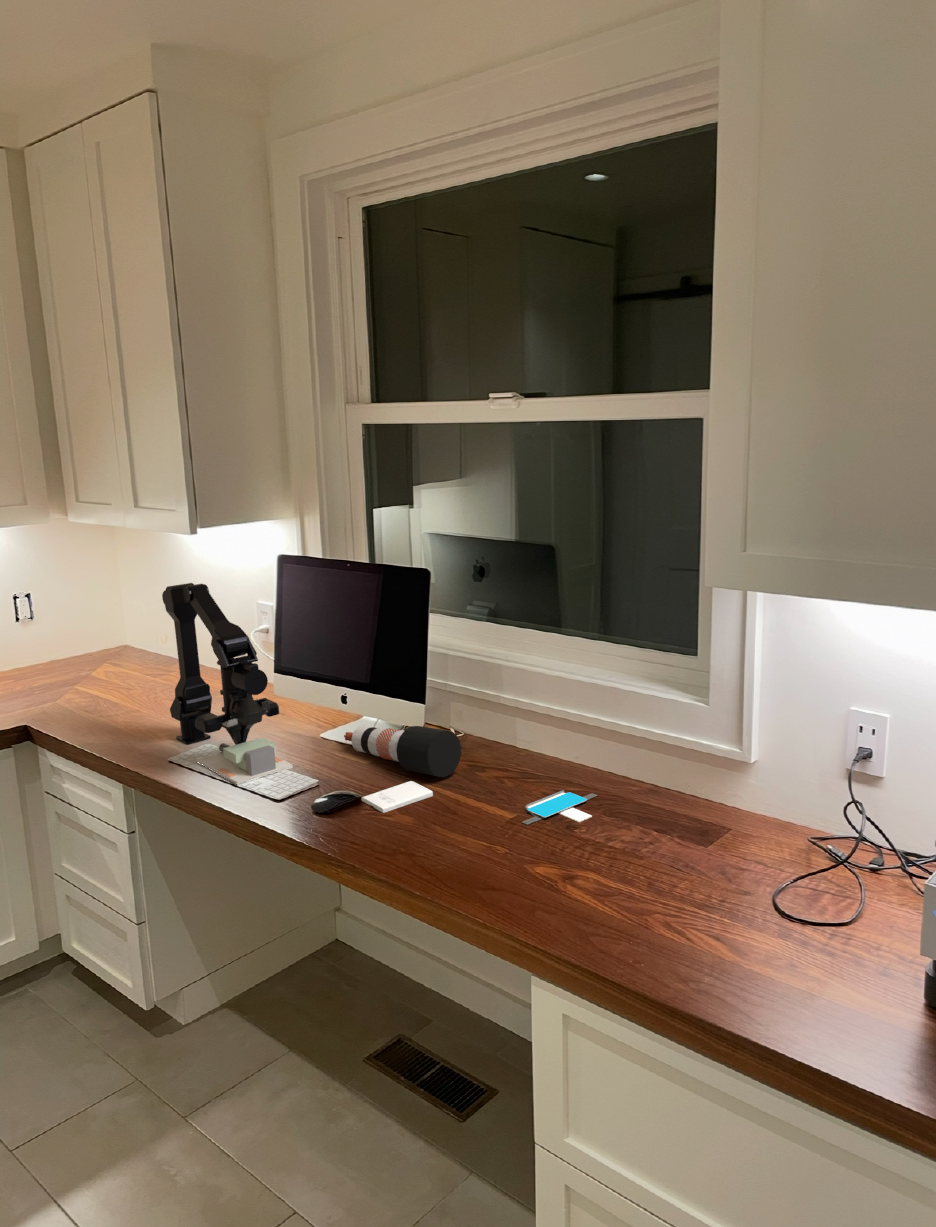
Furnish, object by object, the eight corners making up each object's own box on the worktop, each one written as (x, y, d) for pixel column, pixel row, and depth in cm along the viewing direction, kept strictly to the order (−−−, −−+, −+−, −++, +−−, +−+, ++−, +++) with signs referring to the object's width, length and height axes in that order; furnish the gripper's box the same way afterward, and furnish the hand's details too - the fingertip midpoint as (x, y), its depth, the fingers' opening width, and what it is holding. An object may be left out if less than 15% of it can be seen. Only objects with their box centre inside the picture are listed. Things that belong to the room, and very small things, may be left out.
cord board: (196, 762, 217) (193, 738, 216) (249, 746, 226) (247, 724, 225) (237, 785, 203) (234, 760, 202) (292, 767, 212) (290, 743, 211)
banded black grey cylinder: (357, 760, 227) (368, 720, 229) (455, 781, 203) (465, 735, 205) (326, 752, 220) (336, 711, 222) (423, 772, 196) (434, 726, 198)
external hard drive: (433, 798, 194) (383, 815, 186) (410, 787, 200) (361, 803, 193) (432, 791, 193) (382, 808, 186) (410, 780, 200) (361, 796, 192)
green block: (224, 767, 211) (222, 748, 210) (263, 755, 217) (262, 737, 216) (237, 774, 206) (235, 754, 205) (276, 761, 213) (275, 743, 212)
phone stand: (548, 837, 174) (548, 829, 174) (506, 818, 183) (506, 810, 183) (619, 807, 186) (619, 799, 186) (576, 790, 195) (576, 782, 195)
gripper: (213, 702, 199) (220, 770, 203) (289, 684, 211) (294, 748, 215) (190, 692, 207) (197, 758, 211) (264, 675, 219) (269, 737, 223)
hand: (240, 750), depth 214 cm, fingers closed, pressing on green block
